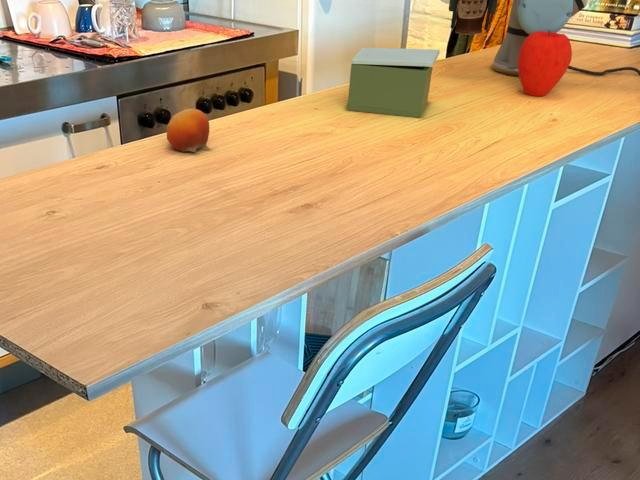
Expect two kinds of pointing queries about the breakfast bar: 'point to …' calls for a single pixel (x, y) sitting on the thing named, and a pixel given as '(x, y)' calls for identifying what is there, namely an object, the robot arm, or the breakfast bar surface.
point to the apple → (543, 61)
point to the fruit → (188, 130)
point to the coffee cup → (471, 16)
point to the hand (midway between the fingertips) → (469, 28)
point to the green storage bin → (389, 89)
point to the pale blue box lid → (396, 57)
